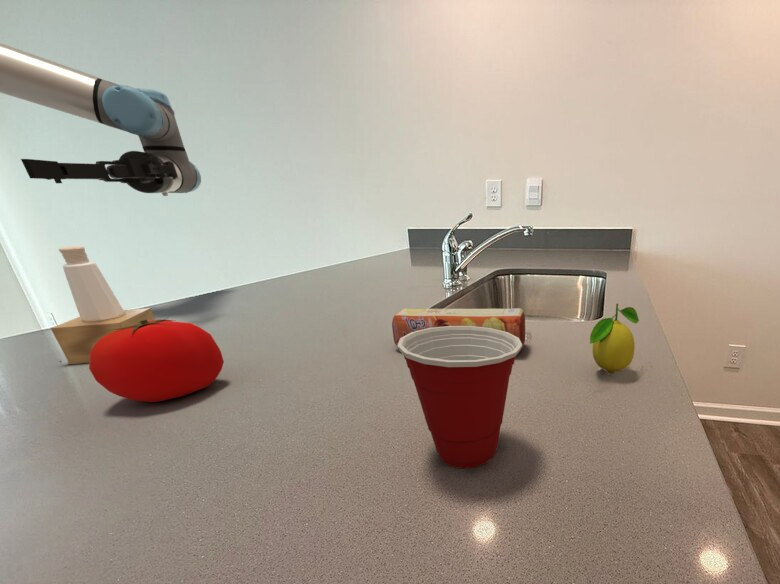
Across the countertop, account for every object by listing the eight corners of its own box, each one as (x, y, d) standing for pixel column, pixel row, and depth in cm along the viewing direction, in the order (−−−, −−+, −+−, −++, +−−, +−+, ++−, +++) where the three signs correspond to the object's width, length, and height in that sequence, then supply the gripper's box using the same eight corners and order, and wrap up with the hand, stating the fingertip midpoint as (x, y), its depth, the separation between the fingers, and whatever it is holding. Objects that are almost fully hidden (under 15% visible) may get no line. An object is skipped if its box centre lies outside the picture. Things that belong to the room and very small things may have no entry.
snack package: (392, 352, 66) (385, 311, 63) (409, 339, 72) (403, 301, 69) (521, 359, 62) (521, 316, 59) (528, 344, 68) (527, 304, 65)
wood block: (69, 364, 64) (50, 328, 61) (105, 345, 72) (89, 312, 69) (136, 358, 66) (119, 322, 63) (164, 340, 74) (150, 308, 71)
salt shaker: (71, 321, 64) (34, 249, 60) (107, 312, 69) (75, 244, 64) (100, 322, 64) (65, 249, 59) (134, 313, 68) (104, 244, 64)
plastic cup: (546, 451, 40) (548, 336, 35) (455, 503, 34) (441, 372, 29) (479, 412, 48) (473, 312, 42) (395, 449, 41) (375, 336, 36)
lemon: (633, 365, 59) (641, 297, 55) (638, 383, 54) (648, 309, 49) (586, 364, 60) (591, 296, 55) (587, 381, 55) (592, 308, 50)
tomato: (235, 393, 54) (208, 317, 49) (106, 425, 47) (61, 341, 42) (226, 367, 62) (202, 300, 57) (116, 391, 55) (79, 317, 50)
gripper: (224, 191, 88) (177, 191, 70) (87, 194, 83) (-3, 195, 64) (212, 152, 85) (159, 141, 66) (69, 152, 80) (-32, 140, 61)
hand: (79, 168), depth 65 cm, fingers open, 13 cm apart
